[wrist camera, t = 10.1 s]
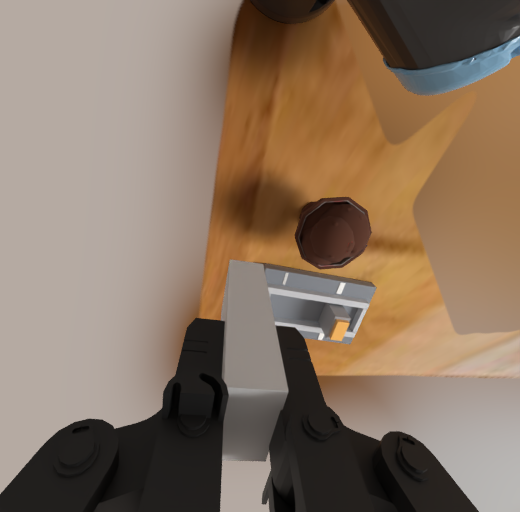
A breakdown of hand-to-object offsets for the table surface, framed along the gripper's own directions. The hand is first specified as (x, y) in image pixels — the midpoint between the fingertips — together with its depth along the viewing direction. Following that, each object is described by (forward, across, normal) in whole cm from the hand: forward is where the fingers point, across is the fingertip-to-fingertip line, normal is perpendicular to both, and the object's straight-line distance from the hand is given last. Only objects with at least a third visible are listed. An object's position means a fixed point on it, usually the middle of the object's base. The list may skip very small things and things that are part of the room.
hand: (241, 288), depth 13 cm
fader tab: (+32, +22, -22) cm, 44 cm away
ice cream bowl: (+34, +14, -5) cm, 37 cm away
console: (+34, +18, -22) cm, 44 cm away
